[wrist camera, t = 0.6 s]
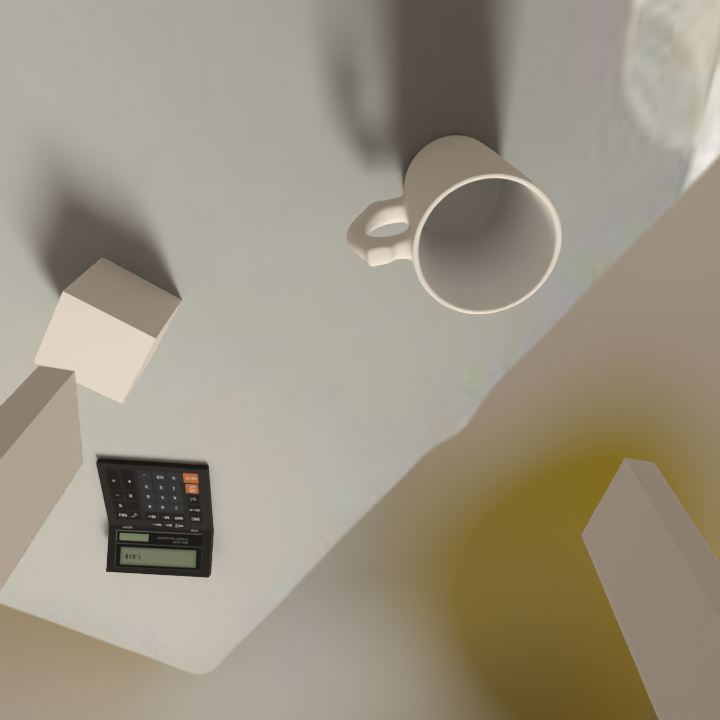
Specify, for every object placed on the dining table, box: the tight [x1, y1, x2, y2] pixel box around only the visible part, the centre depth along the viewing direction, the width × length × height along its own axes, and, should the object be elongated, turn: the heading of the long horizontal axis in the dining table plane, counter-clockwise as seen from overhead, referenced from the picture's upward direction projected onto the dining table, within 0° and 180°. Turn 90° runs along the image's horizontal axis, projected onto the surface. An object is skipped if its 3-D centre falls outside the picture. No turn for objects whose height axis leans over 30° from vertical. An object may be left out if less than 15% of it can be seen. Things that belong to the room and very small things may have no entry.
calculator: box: [96, 459, 214, 577], centre depth 50 cm, size 9×12×3 cm
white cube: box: [34, 257, 182, 404], centre depth 38 cm, size 6×6×6 cm
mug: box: [347, 135, 562, 314], centre depth 31 cm, size 10×7×12 cm, turn 99°
